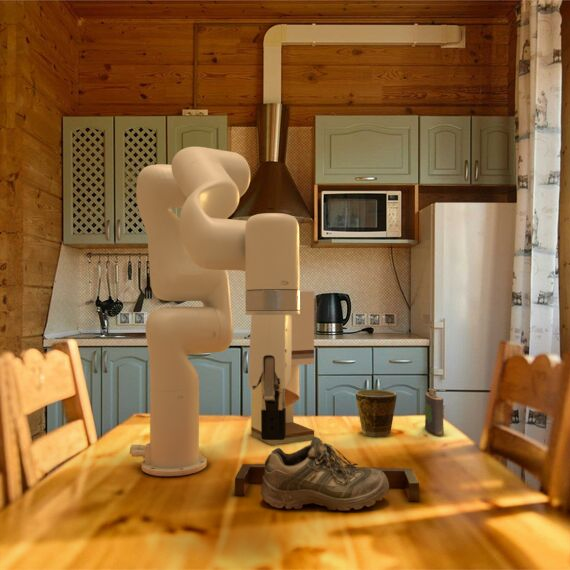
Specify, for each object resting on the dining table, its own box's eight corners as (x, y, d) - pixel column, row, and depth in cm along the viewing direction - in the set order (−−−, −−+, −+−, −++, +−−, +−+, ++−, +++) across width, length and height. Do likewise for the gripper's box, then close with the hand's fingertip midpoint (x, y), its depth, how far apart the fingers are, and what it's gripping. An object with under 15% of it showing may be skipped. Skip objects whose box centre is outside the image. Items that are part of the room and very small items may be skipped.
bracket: (234, 495, 91) (234, 477, 91) (242, 480, 99) (242, 463, 99) (419, 501, 88) (419, 483, 89) (412, 485, 96) (412, 468, 96)
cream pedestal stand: (271, 445, 122) (271, 291, 123) (251, 435, 132) (251, 291, 133) (314, 439, 128) (313, 291, 129) (291, 429, 137) (291, 292, 138)
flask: (445, 436, 131) (444, 391, 131) (433, 436, 131) (432, 391, 131) (433, 427, 140) (432, 385, 140) (422, 427, 140) (421, 385, 140)
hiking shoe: (398, 501, 83) (382, 424, 89) (262, 519, 81) (255, 440, 88) (389, 511, 90) (374, 439, 97) (264, 527, 89) (258, 454, 96)
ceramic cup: (367, 427, 140) (367, 388, 140) (403, 432, 134) (403, 392, 134) (342, 437, 130) (342, 395, 130) (380, 444, 124) (380, 400, 124)
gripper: (253, 304, 82) (254, 426, 82) (236, 304, 67) (236, 452, 67) (303, 304, 82) (304, 426, 81) (296, 303, 67) (297, 453, 66)
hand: (273, 438), depth 74 cm, fingers closed
